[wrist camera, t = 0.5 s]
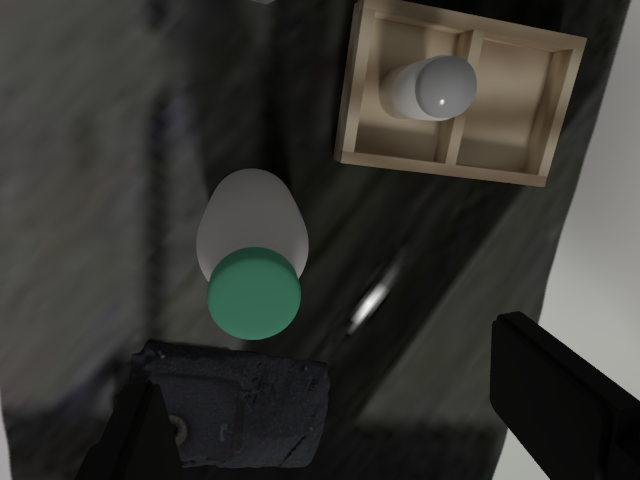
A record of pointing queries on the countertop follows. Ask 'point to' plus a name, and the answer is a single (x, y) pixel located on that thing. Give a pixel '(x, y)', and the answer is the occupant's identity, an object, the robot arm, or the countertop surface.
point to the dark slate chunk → (237, 404)
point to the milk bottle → (252, 254)
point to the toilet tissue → (263, 1)
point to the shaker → (429, 89)
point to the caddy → (486, 108)
